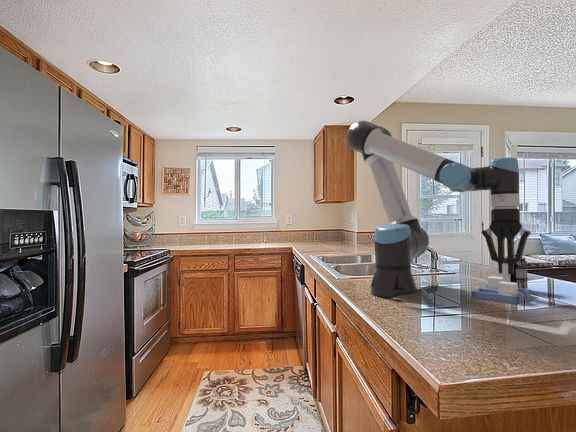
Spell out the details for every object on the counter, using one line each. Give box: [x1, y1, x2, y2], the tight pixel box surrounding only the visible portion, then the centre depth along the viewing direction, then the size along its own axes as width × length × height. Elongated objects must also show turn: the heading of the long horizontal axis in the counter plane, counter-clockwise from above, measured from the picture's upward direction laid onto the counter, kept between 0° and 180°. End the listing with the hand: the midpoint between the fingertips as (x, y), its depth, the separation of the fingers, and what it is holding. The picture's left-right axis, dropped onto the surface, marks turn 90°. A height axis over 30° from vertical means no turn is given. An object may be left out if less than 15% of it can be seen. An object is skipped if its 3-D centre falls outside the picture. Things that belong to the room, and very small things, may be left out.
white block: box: [498, 281, 518, 296], centre depth 97 cm, size 4×4×5 cm
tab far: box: [487, 275, 502, 289], centre depth 106 cm, size 4×4×5 cm
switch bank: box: [471, 283, 531, 305], centre depth 102 cm, size 12×14×3 cm
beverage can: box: [504, 255, 529, 289], centre depth 111 cm, size 7×7×12 cm
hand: (506, 284), depth 104 cm, fingers closed
